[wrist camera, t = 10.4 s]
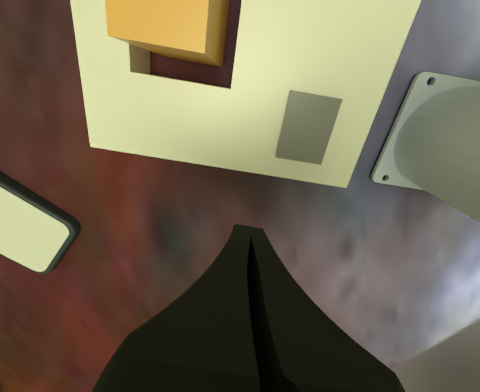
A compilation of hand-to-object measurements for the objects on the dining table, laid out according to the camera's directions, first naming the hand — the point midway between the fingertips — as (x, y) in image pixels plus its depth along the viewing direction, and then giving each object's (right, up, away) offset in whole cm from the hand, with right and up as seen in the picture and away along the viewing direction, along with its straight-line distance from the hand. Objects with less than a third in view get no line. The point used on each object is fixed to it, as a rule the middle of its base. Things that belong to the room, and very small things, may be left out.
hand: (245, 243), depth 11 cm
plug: (-3, +13, +4) cm, 14 cm away
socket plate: (0, +12, +5) cm, 13 cm away
